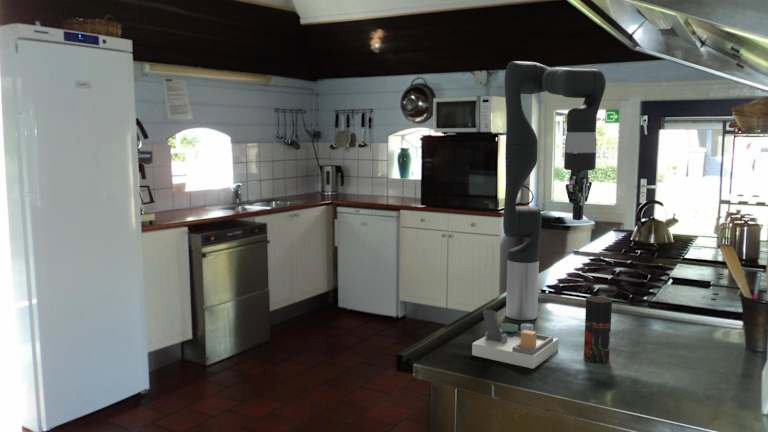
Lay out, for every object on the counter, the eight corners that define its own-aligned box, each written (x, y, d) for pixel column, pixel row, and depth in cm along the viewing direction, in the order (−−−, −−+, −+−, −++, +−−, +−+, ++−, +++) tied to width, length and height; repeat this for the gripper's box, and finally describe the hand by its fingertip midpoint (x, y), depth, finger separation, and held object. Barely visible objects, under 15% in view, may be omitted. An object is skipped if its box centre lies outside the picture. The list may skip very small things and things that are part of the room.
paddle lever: (490, 336, 160) (484, 309, 156) (501, 339, 159) (495, 311, 154) (489, 339, 160) (482, 311, 156) (500, 341, 158) (493, 313, 154)
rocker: (507, 329, 168) (507, 323, 168) (517, 331, 166) (518, 325, 166) (500, 329, 165) (501, 323, 165) (511, 331, 163) (512, 325, 163)
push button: (523, 331, 166) (523, 322, 166) (535, 333, 164) (535, 324, 164) (518, 334, 163) (518, 325, 163) (530, 337, 162) (530, 327, 161)
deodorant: (610, 364, 152) (613, 303, 150) (584, 362, 153) (587, 301, 151) (607, 356, 158) (610, 296, 156) (582, 354, 159) (584, 295, 157)
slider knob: (524, 345, 155) (524, 329, 155) (536, 348, 154) (536, 331, 153) (520, 348, 153) (520, 332, 153) (532, 350, 152) (532, 334, 151)
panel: (500, 338, 171) (500, 320, 170) (558, 350, 162) (558, 331, 161) (472, 355, 158) (472, 335, 158) (533, 368, 149) (533, 348, 148)
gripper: (574, 150, 166) (572, 216, 168) (555, 151, 155) (553, 221, 157) (603, 150, 162) (600, 218, 164) (586, 151, 151) (583, 224, 153)
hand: (577, 219), depth 161 cm, fingers closed
